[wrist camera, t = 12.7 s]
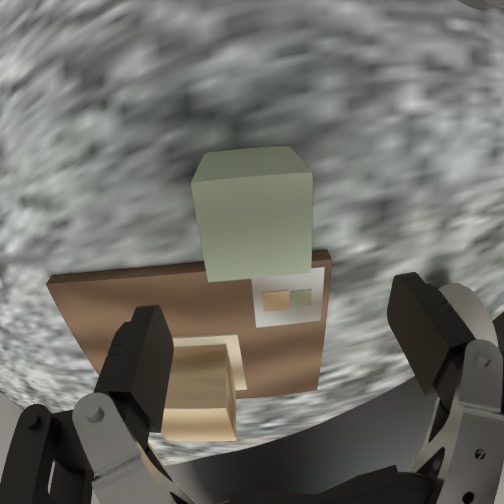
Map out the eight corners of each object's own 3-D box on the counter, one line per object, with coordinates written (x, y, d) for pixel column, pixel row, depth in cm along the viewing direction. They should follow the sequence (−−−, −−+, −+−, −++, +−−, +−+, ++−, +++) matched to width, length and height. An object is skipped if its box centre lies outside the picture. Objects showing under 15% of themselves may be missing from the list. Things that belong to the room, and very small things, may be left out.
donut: (419, 271, 22) (480, 358, 14) (450, 254, 22) (517, 332, 13) (425, 338, 27) (464, 411, 19) (451, 323, 27) (493, 393, 18)
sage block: (205, 152, 17) (190, 182, 12) (288, 145, 17) (312, 172, 12) (215, 227, 20) (208, 282, 14) (291, 220, 20) (311, 272, 14)
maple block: (155, 347, 23) (142, 407, 18) (226, 343, 23) (225, 408, 18) (173, 386, 26) (167, 440, 21) (235, 384, 26) (236, 440, 21)
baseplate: (51, 275, 21) (44, 285, 20) (327, 250, 21) (332, 261, 20) (117, 389, 29) (114, 399, 28) (314, 381, 29) (317, 391, 28)
